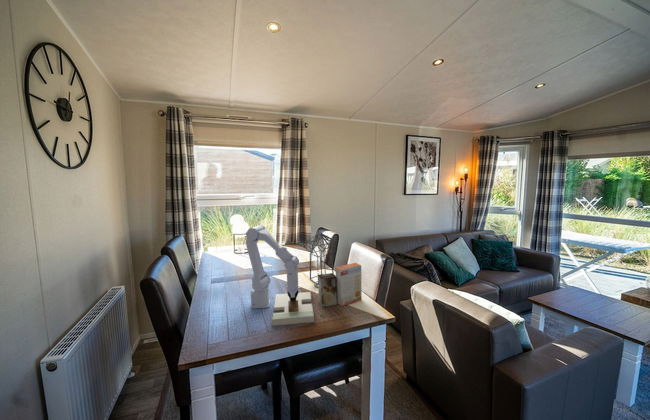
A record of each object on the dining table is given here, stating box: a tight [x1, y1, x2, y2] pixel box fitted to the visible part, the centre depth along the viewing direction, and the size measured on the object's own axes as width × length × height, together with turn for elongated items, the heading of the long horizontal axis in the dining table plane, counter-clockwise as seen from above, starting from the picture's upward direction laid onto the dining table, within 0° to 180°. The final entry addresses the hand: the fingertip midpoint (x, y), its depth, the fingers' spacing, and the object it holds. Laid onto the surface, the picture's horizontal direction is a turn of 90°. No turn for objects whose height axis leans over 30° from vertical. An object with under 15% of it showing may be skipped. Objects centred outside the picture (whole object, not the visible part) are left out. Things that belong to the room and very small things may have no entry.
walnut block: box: [288, 300, 298, 312], centre depth 126 cm, size 5×5×4 cm
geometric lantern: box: [304, 232, 337, 288], centre depth 156 cm, size 16×16×35 cm
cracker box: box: [335, 262, 363, 307], centre depth 136 cm, size 14×6×21 cm, turn 120°
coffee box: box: [317, 272, 338, 308], centre depth 135 cm, size 9×6×16 cm
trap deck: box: [271, 291, 315, 327], centre depth 131 cm, size 20×28×3 cm
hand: (293, 304), depth 130 cm, fingers closed
